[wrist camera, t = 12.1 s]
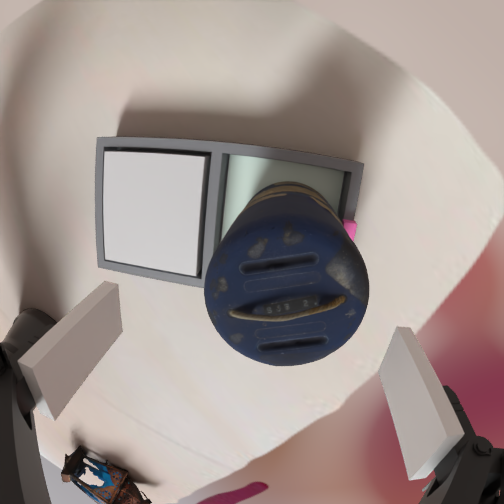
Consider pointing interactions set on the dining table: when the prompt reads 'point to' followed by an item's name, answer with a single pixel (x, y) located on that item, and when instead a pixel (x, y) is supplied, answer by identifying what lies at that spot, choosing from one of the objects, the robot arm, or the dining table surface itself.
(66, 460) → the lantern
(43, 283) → the dining table surface
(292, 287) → the canister
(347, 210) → the grey divided tray
